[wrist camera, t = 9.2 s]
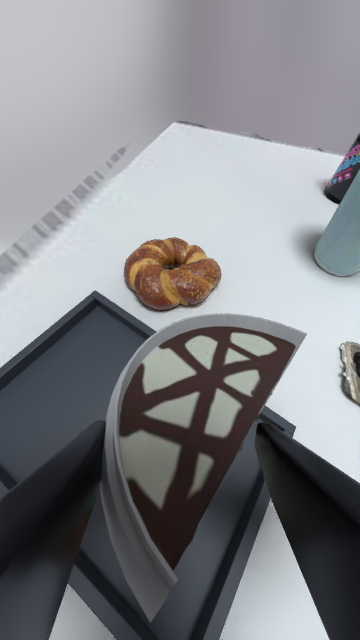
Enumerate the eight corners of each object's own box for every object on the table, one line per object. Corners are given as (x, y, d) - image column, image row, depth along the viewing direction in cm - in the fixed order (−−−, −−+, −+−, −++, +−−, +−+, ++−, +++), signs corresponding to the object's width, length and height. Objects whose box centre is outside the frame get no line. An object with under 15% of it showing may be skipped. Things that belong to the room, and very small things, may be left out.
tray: (184, 688, 13) (188, 723, 11) (-49, 427, 19) (-70, 424, 17) (285, 429, 21) (296, 426, 19) (99, 300, 26) (95, 289, 25)
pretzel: (215, 253, 32) (221, 231, 29) (221, 317, 27) (230, 298, 23) (131, 246, 32) (128, 223, 28) (119, 311, 26) (113, 291, 23)
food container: (191, 382, 21) (215, 287, 15) (252, 425, 18) (309, 329, 12) (63, 511, 12) (6, 406, 7) (140, 627, 10) (156, 621, 4)
